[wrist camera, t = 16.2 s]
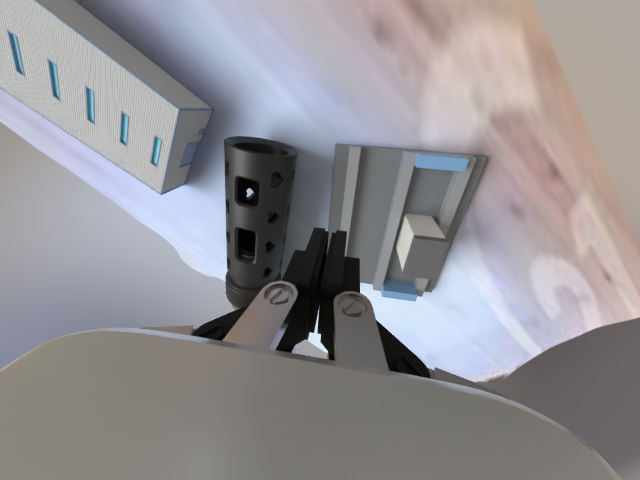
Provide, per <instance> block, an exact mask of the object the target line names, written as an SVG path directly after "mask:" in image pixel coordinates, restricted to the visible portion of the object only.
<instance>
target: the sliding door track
mask: <svg viewBox="0 0 640 480" xmlns="http://www.w3.org/2000/svg"><path fill="white" fill-rule="evenodd" d="M487 158H488V157H487V156H483V155H471V154H458V153H446V152H433V151H421V150H408V149H396V148H383V147H371V146H359V145H346V144H336V146H335V158H334V170H333V182H332V194H331V206H330V218H329V230H328V232H329V238H328V249H329V244H330V240H331V235H332V232H334V233H336V231H337V230H340V231H347V239H346V249H345V256H347V257H354V258H360V282H361V283H368V284H373V290H379V291H381V292H382V297H388V298H395V299H402V300H408V301H416V298H417V296H421V297H422V296H423V293H424V291H425V292H432V290H433V287H434V285H435V282H436V280H437V278H438V275H439V273H440V270H441V268H442V266H443V263H444V261H445V258H446V256H447V254H448V251H449V249H450V247H451V244H452V242H453V239H454V237H455V235H456V232H457V230H458V227H459V225H460V223H461V220H462V218H463V215H464V213H465V211H466V208H467V206H468V203H469V201H470V199H471V196H472V194H473V191H474V189H475V187H476V184H477V182H478V180H479V177H480V175H481V172H482V170H483V168H484V165H485V163H486V160H487ZM404 213H409V214H418V215H427V216H432V218H433V219H434V221H435V222H436V224H437V225H438V227H439V228H440V230H441V231H442V233H443V234H444V236H445V237H446V239H447V240H448V242H449V244H448V246H447V249H446V251H445V254H444V256H443V258H442V261H441V263H440V266H439V268H438V271H437V273H436V275H435V278H434V280H429V279H422V278H415V277H407V276H403V272H402V268H401V264H400V260H399V257H398V253H397V249H396V242H397V239H398V235H399V231H400V228H401V224H402V220H403V217H404ZM327 253H328V250H327Z"/></svg>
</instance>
